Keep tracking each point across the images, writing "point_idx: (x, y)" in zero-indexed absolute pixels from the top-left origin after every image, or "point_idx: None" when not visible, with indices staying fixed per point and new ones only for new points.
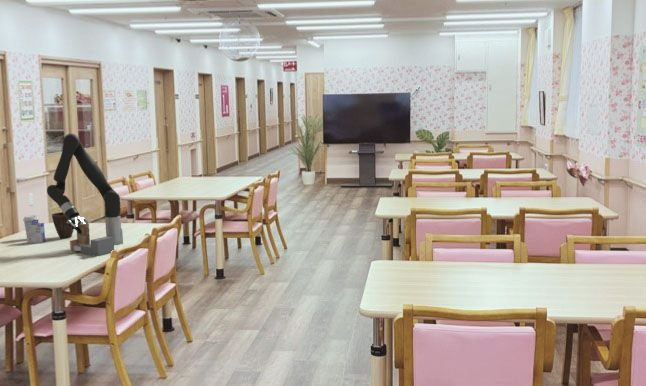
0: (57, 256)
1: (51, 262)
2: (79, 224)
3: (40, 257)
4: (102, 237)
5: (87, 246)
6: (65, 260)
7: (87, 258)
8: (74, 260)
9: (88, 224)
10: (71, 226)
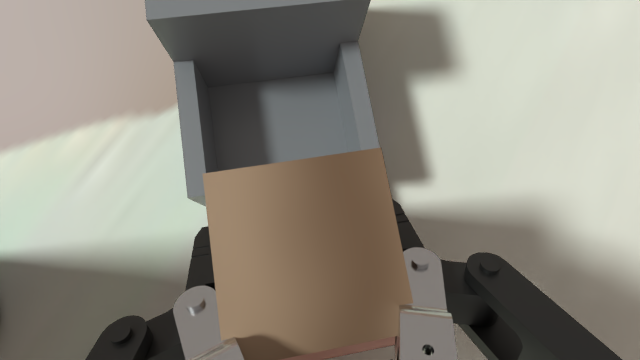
0: (527, 250)
1: (628, 105)
2: (375, 265)
3: (630, 330)
4: (212, 4)
5: (361, 87)
6: (541, 81)
7: (417, 13)
8: (501, 33)
9: (213, 176)
10: (504, 350)
